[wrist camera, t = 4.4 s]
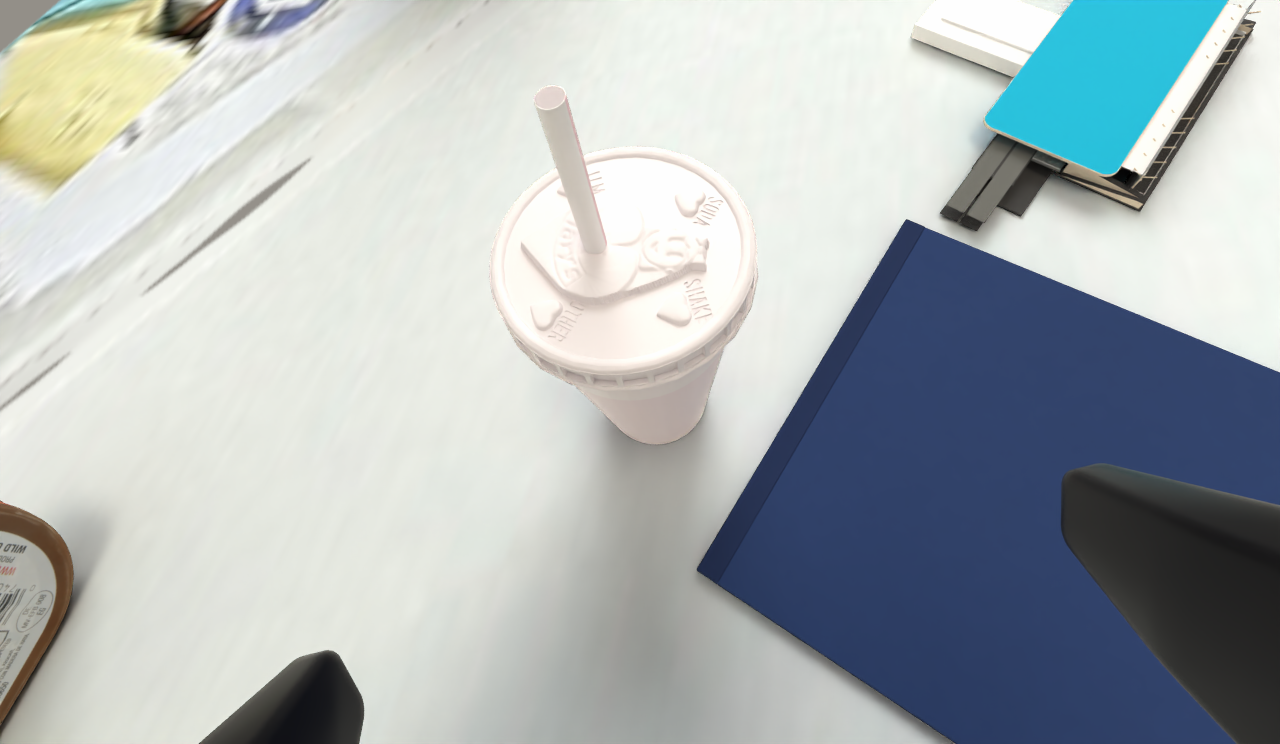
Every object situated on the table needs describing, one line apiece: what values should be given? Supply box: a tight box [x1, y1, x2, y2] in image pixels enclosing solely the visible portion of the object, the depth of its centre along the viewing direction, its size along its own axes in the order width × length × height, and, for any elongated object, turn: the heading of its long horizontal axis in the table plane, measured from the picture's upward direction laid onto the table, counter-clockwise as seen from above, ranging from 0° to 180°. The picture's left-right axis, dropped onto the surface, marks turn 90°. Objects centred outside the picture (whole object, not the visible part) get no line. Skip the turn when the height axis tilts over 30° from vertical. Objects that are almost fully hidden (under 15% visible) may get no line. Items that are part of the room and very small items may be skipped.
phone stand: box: [911, 0, 1261, 231], centre depth 26 cm, size 20×12×2 cm, turn 142°
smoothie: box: [489, 85, 758, 445], centre depth 16 cm, size 6×6×14 cm
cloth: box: [697, 219, 1280, 744], centre depth 19 cm, size 16×20×1 cm
